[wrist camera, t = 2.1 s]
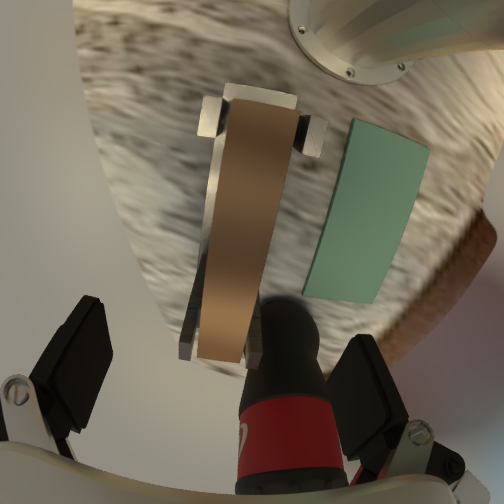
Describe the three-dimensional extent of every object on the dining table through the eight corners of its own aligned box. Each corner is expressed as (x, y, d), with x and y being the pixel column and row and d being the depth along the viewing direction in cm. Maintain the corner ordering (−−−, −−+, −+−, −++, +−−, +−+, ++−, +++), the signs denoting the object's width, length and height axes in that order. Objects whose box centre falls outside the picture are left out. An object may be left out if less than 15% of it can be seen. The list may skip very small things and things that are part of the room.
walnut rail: (235, 101, 13) (233, 97, 11) (290, 112, 14) (300, 111, 11) (201, 328, 21) (196, 357, 18) (240, 334, 21) (239, 363, 18)
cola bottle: (237, 340, 34) (222, 587, 7) (251, 287, 30) (243, 610, 3) (301, 349, 34) (326, 579, 8) (324, 299, 30) (384, 582, 4)
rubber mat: (352, 118, 22) (355, 118, 21) (427, 148, 23) (430, 149, 22) (301, 293, 30) (302, 296, 30) (370, 300, 31) (371, 304, 31)
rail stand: (226, 83, 20) (206, 50, 9) (295, 96, 21) (344, 79, 10) (196, 281, 29) (174, 375, 18) (252, 290, 30) (255, 386, 19)
